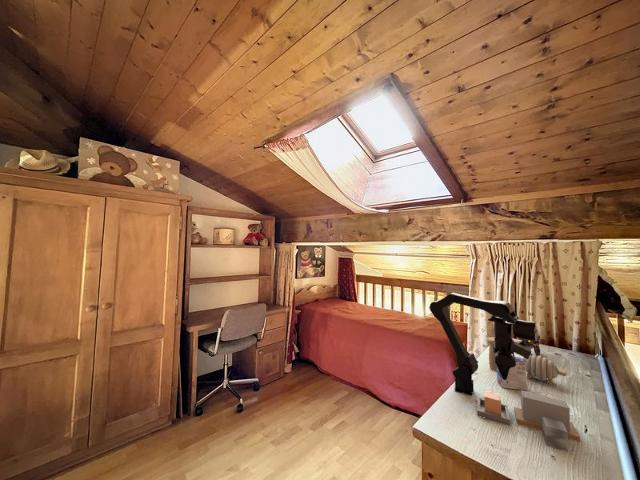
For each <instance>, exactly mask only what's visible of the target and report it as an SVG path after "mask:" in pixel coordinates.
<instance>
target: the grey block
mask: <svg viewBox="0 0 640 480" xmlns="http://www.w3.org/2000/svg"><path fill="white" fill-rule="evenodd" d="M542 425H543V431H542V437H543V440H544V443H545V446H547V447H551V448H552V449H553V448H554V449H557V450H560V451H563V452H566V453H567V452H568V451H569V449H568V448H569V446H568V445H569V444H568V441H569V440H568V439H569V438H568V435H567V430H566V428H565V426H564V424H563V422H560V421H556V420H552V419H549V418H545V417H542Z"/></svg>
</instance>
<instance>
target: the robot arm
mask: <svg viewBox="0 0 640 480" xmlns="http://www.w3.org/2000/svg"><path fill="white" fill-rule="evenodd" d="M454 304H458V305H460V306H461V305H462V306H466V307H469V308H473V309H478V310H481V311H483V312H487V313H488V314H489V315H491V316H490V317H489V318H488V319H487V321H488V322H493V325H494V342H493V350H494V353H495V363H496V365H497V367H498V369H499V372H500V374H501V376H502V378H503V380H507V376H508V373H509V370H510V368H512V367H515V366H516V360H515V357H516V356H515V354H517V355H519V356H521V357H522V358H526V359H529V357H530V354H531V353H533V352H532V349H530V348H529V347H526V343H525V342H524V341H522V340H523V339H527V340H531V341H537V337H538V335H539V334H538V333H539V332H538V328H537V322H536V321H532V320H531V321H530V320H523V319H520V317H519V316H518V315H517V313H516V312H515V311H514V308H513V306H512V304H511V303H509V302H508V301H505V300H487V299H482V298H477V297H474V296H473V297H472V296H468V295H464V294H460V293H457V292H451V293H449V294H447V295H446V296H444V297H442V298H441V299H438V300H435V301H432V302H430V304H429V307H428V309H429V311H430V312H431V314H432V315H433V316H434V318H435V319H436V320H437V321H438V322H439V323H440V325H441V327H442V329H443V330H444V333H445V335H446V337H447V339H448V342H449V343H450V345H451V347H452V349H453V351H454V354H455V359H456V361H455V362H456V365H457V367H455V369H454V370H453V371H452V374H453V377H454V391H455V392H457V393H461V394H465V395H469V396H473V393H474V392H475V391H474V379H473V375H474V374H475V373H476V372H477V371H478V369H479V364H478V363H479V361H478V360H477V358H476V355H475V354H474V353H473V352H472V353H470V352H469V351H468V350H467V349H466V347H465V345H464V343H463V342H462V339H461V337H460V335H459V334H458V333H459V332H458V331H457V329H456V327H455V325H454V323H453V321H452V320H451V315H450V309H449V307H450V306H451V305H454ZM513 335H514V336H515V337H516V338H519V339H521V340H519V341H514V338H513ZM512 354H514V356H515V357H514V356H513V355H512Z"/></svg>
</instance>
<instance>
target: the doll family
mask: <svg viewBox="0 0 640 480" xmlns="http://www.w3.org/2000/svg"><path fill="white" fill-rule="evenodd" d="M540 339H541V336H540V335H539V334H538V337H537V341H531V340H527V339H521V341H524V342H525V343H526V347H529V348H530V349H531V350H533V352H534V354H533V352H531V354H530V355H531V356H533V355H536V356H541V357H542V354H541V349H540ZM540 354H541V355H540Z"/></svg>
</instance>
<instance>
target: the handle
mask: <svg viewBox="0 0 640 480" xmlns="http://www.w3.org/2000/svg"><path fill="white" fill-rule="evenodd" d="M486 339H487V342H488V344H489V347H488V364H489V369H491V370H493V371H497V365H496V363H495V353H494V350H493V342H494V337H493V336H489V337H487V338H486Z"/></svg>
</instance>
